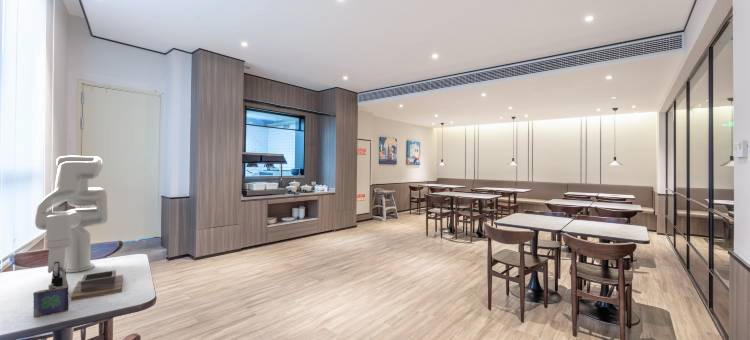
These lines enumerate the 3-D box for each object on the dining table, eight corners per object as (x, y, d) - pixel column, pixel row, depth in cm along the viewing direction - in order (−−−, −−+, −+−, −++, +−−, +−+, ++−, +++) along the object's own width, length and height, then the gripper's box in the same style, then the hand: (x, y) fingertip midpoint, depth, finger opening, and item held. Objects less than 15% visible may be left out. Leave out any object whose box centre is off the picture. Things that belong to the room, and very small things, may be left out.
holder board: (78, 284, 149) (78, 272, 149) (122, 277, 159) (122, 266, 159) (70, 300, 132) (70, 287, 132) (121, 291, 141) (121, 279, 141)
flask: (32, 318, 116) (32, 288, 116) (34, 315, 119) (34, 285, 119) (68, 311, 122) (68, 282, 122) (69, 308, 125) (69, 280, 124)
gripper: (50, 240, 143) (51, 280, 143) (41, 248, 129) (42, 292, 129) (73, 238, 147) (74, 277, 148) (67, 246, 133) (67, 288, 134)
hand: (59, 284), depth 138 cm, fingers open, 8 cm apart
